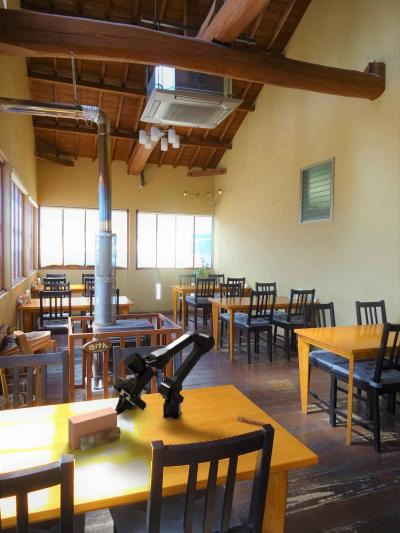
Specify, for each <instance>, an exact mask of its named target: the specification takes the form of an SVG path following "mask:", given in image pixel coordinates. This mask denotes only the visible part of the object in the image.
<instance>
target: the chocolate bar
mask: <svg viewBox="0 0 400 533" xmlns="http://www.w3.org/2000/svg"><path fill="white" fill-rule="evenodd" d="M236 421H237V422H239V421H240V422H241V423H243V422H244V424H247V423H248V425H251V426H256V427H260V428H262V427H261V425H263V424H267V422H266V421H264V420H262V421H261V420H258V419H253V418H249V417H246V416H242V415H237V416H236Z"/></svg>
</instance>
